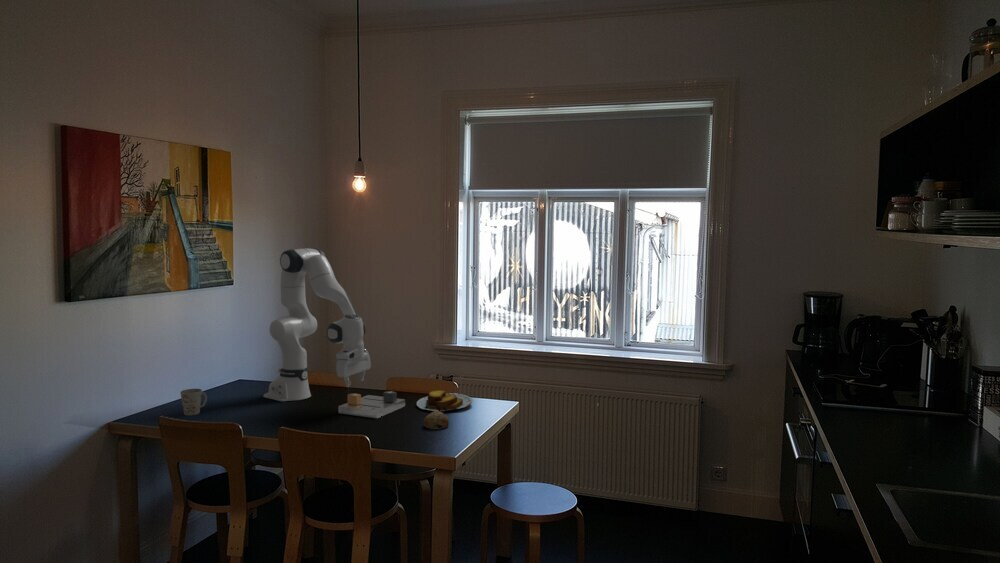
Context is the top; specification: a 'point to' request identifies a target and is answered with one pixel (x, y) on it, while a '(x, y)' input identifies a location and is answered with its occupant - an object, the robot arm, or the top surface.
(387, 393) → the black fader
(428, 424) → the bread roll
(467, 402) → the food on plate
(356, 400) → the orange fader
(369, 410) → the mixing panel
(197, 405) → the mug
